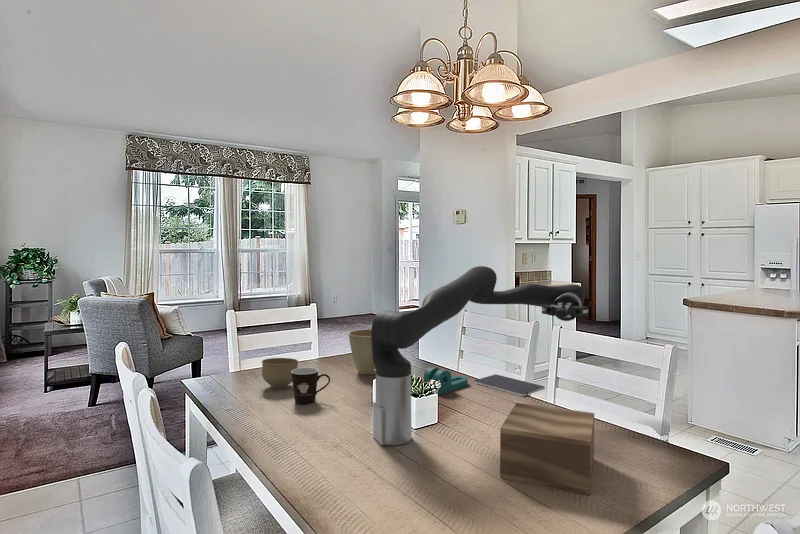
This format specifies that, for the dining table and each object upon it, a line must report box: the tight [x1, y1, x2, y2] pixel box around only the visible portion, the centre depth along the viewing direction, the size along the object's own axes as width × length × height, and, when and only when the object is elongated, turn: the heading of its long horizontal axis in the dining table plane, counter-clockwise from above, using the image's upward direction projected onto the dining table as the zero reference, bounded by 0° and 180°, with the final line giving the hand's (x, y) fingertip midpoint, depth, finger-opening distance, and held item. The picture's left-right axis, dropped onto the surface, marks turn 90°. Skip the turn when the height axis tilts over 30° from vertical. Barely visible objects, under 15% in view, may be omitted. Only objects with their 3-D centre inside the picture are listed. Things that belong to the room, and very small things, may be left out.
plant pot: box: [348, 328, 376, 375], centre depth 190 cm, size 15×15×16 cm
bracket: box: [423, 366, 469, 396], centre depth 170 cm, size 18×7×8 cm, turn 134°
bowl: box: [261, 357, 299, 390], centre depth 171 cm, size 13×13×10 cm
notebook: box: [474, 373, 545, 397], centre depth 172 cm, size 13×2×21 cm
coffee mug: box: [291, 367, 331, 406], centre depth 154 cm, size 12×9×10 cm
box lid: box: [499, 402, 595, 446], centre depth 108 cm, size 18×18×1 cm
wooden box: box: [499, 422, 595, 496], centre depth 108 cm, size 18×18×10 cm
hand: (561, 314), depth 127 cm, fingers closed
